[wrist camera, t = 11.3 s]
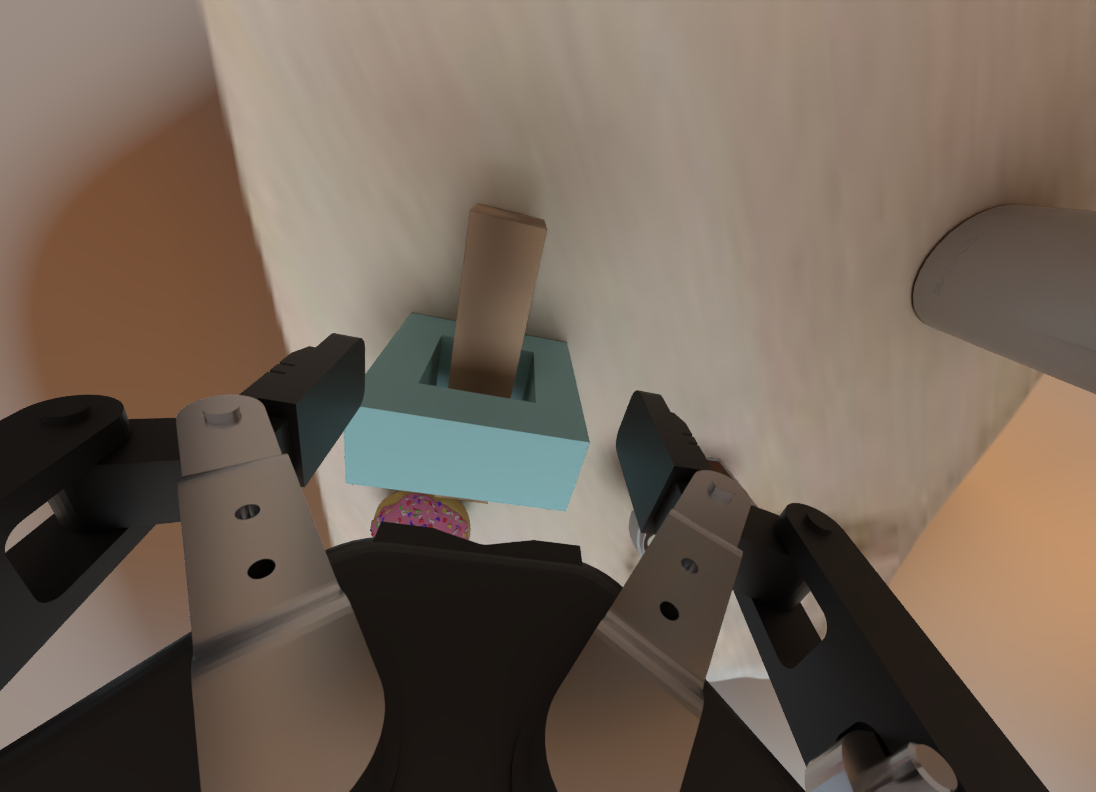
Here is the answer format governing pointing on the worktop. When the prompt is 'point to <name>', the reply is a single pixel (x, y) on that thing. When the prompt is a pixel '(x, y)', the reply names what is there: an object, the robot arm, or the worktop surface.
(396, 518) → the cupcake
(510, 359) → the brown rectangular block
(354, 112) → the worktop surface
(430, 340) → the light blue hollow block
